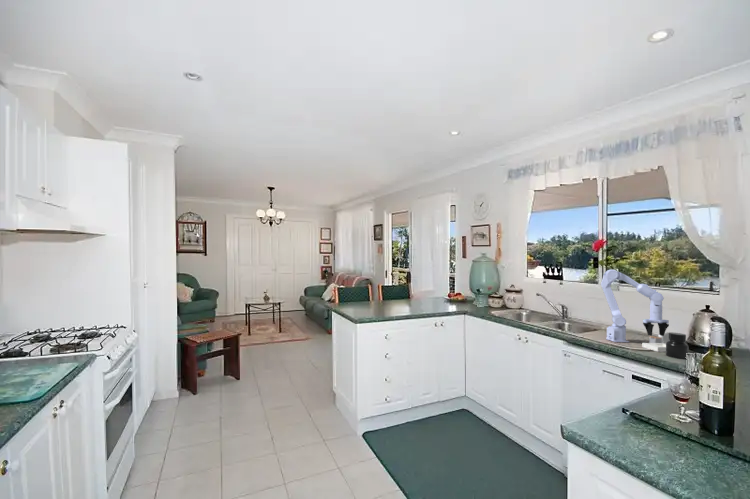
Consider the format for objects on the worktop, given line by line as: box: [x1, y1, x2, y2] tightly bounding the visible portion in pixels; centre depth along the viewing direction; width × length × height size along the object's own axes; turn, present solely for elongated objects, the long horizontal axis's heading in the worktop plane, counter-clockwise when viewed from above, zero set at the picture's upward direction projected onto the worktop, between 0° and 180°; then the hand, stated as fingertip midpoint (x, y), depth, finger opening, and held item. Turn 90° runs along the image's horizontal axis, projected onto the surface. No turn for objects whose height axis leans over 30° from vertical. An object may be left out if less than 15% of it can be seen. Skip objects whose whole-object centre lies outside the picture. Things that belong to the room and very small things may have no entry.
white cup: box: [657, 331, 670, 343], centre depth 209 cm, size 8×8×10 cm
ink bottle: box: [665, 331, 690, 360], centre depth 180 cm, size 10×9×12 cm
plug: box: [648, 335, 662, 343], centre depth 206 cm, size 4×4×5 cm
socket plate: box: [641, 342, 666, 353], centre depth 195 cm, size 16×10×3 cm, turn 95°
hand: (655, 335), depth 206 cm, fingers open, 7 cm apart
